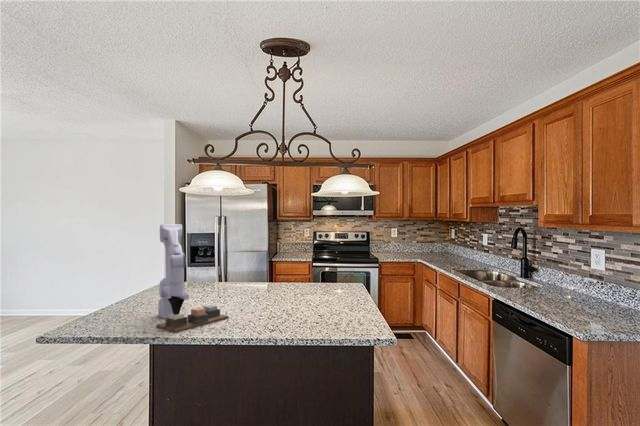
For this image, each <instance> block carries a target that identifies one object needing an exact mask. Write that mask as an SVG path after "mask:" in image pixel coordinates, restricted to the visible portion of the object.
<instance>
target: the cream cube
mask: <svg viewBox="0 0 640 426" xmlns="http://www.w3.org/2000/svg"><path fill="white" fill-rule="evenodd" d="M184 317H185V314H184V313H182V312H180V313H179V314H177V315H174V314H169V319H173V320H176V319H181V318H184Z"/></svg>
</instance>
